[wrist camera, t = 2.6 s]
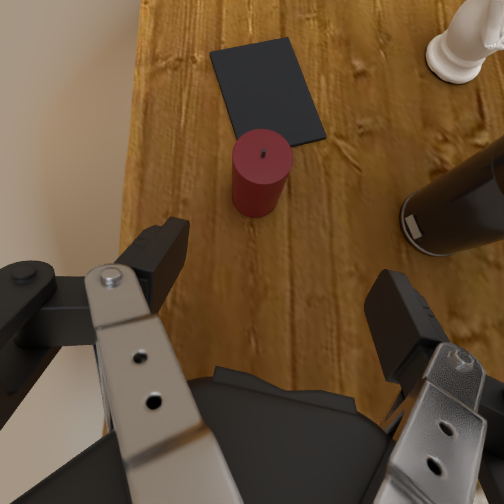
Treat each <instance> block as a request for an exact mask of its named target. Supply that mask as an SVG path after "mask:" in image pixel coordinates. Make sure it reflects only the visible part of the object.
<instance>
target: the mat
mask: <svg viewBox="0 0 504 504" xmlns="http://www.w3.org/2000/svg"><path fill="white" fill-rule="evenodd" d="M210 57H211V60H212V63H213V67H214V70H215V73H216V76H217V79H218V82H219V85H220V88H221V91H222V95H223V98H224V101H225V104H226V107H227V110H228V113H229V116H230V119H231V122H232V126H233V129H234V132H235V135H236V138H237V140H238V139H239V138H240V137H241V136H242V135H244V134H245V133H247V132H249V131H252V130H256V129H267V130H271V131H274V132H276V133H278V134H280V135H281V136H282V137H284V138H285V139H286V141H287V142H288V143H289V145H290V147H294V146H298V145H302V144H306V143H310V142H314V141H319V140H323V139H325V138H326V134H325V131H324V129H323V126H322V123H321V121H320V118H319V116H318V113H317V110H316V108H315V105H314V103H313V100H312V97H311V95H310V92H309V90H308V87H307V84H306V82H305V79H304V77H303V74H302V72H301V69H300V66H299V64H298V61H297V59H296V56H295V53H294V51H293V48H292V46H291V43H290V40H289V38H288V37H285V38H280V39H275V40H270V41H264V42H259V43H254V44H249V45H244V46H238V47H233V48H228V49H223V50H218V51H212V52H210Z"/></svg>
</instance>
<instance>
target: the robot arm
mask: <svg viewBox="0 0 504 504" xmlns="http://www.w3.org/2000/svg"><path fill="white" fill-rule="evenodd" d="M400 225H401V229H402V231H403V234H404V236H405V237H406V239H407V240H408V242H409V243H410V244H411V245H412V246H413V247H414V248H416V249H417V250H418V251H420V252H422V253H424V254H426V255H429V256H434V257H444V256H448V255H452V254H455V253H457V252H460V251H463V250H467V249H471V248H475V247H479V246H482V245H486V244H490V243H493V242H497V241H501V240H504V135H503V136H502V137H500V138H499V139H497V140H495V141H494V142H492V143H491V144H489V145H488V146H486V147H485V148H483V149H482V150H480V151H479V152H477V153H476V154H474V155H473V156H471V157H470V158H468V159H467V160H465V161H464V162H462V163H460V164H459V165H457V166H456V167H454V168H453V169H451V170H450V171H448V172H447V173H445V174H444V175H442V176H441V177H439V178H438V179H436V180H435V181H433V182H431V183H430V184H428V185H427V186H425V187H424V188H422V189H421V190H418V191H416V192H415V193H413V194H412V195H410V196H409V197H408V198H407V199H406V200H405V202H404V204H403V205H402V208H401V212H400ZM189 227H190V222H189V221H188V220H184V219H180V218H175V217H169V219H168V220H167V221H166V222H165V223H164V225H163V226H162V227H161V226H157V225H154V226H151V227H149V228H147V229H145V230H143V231H142V233H141V234H140V235H139V236H138V237H137V238H136V239H135V240H134V241H133V242H132V244H131V245H130V246H129V247H128V248H127V249H126V250H125V251H124V252H123V253H122V254H121V256H120V257H119V258H118V259H117V260H116V261H115V262H114V263H113V264H104V265H100V266H97V267H95V268H93V269H91V270H90V271H89V272H88V273H87V274H86V276H83V277H69V276H68V277H67V276H66V277H65V276H55V273H54V269H53V267H52V266H51V265H49V264H48V263H45V262H41V261H21V262H16V263H13V264H10V265H7V266H5V267H3V268H1V269H0V430H1V429H2V428H3V426H4V425H5V424H6V422H7V421H8V420H9V418H10V417H11V416H12V414H13V413H14V411H15V410H16V409H17V407H18V406H19V405H20V403H21V402H22V401H23V399H24V398H25V396H26V395H27V394H28V392H29V391H30V390H31V388H32V387H33V386H34V384H35V383H36V382H37V380H38V379H39V377H40V376H41V375H42V373H43V372H44V371H45V369H46V368H47V366H48V365H49V364H50V362H51V361H52V360H53V358H54V357H55V356H56V354H57V353H58V352H59V350H60V349H61V347H62V346H76V345H93V351H94V356H95V361H96V367H97V372H98V378H99V383H100V388H101V393H102V400H103V407H104V413H105V419H106V425H107V430H108V434H106V435H105V436H104V437H102V438H101V439H99V440H98V441H97V442H95V443H94V444H92V445H91V446H90V447H88V448H87V449H86V450H84V451H83V452H81V453H80V454H78V455H77V456H76V457H74V458H73V459H71V460H70V461H69V462H67V463H66V464H65V465H63V466H62V467H60V468H59V469H58V470H56V471H55V472H53V473H52V474H51V475H49V476H48V477H46V478H45V479H44V480H42V481H41V482H40V483H38V484H37V485H35V486H34V487H32V488H31V489H30V490H28V491H27V492H25V493H24V494H23V495H21V496H20V497H19V498H17V499H16V500H14V501H13V502H12V503H10V504H473V501H474V495H475V490H476V484H477V479H479V481H480V484H481V486H482V489H483V491H484V493H485V496H486V498H487V501H488V503H489V504H504V383H503V382H500V381H498V380H496V379H494V378H492V377H490V376H488V375H486V374H485V370H484V368H483V366H482V365H481V363H480V362H479V361H478V360H477V359H476V358H475V357H474V356H473V355H472V354H471V353H469V352H468V351H466V350H465V349H463V348H462V347H460V346H458V345H455V344H452V343H450V341H449V339H448V338H447V336H446V334H445V332H444V331H443V329H442V327H441V326H440V324H439V322H438V321H437V319H436V318H434V317H435V316H434V314H433V312H432V310H430V307H429V305H428V304H427V302H426V300H425V299H424V297H423V296H421V295H420V294H419V293H418V292H417V291H416V290H415V289H414V288H413V287H412V286H411V284H410V282H409V280H408V279H407V277H406V275H405V274H403V273H400V272H395V271H391V270H387V269H384V270H382V271H381V273H380V274H379V276H378V278H377V279H376V281H375V283H374V285H373V286H372V288H371V290H370V292H369V293H368V295H367V297H366V299H365V303H364V312H365V315H366V319H367V322H368V325H369V328H370V332H371V335H372V338H373V341H374V345H375V348H376V351H377V354H378V357H379V361H380V364H381V367H382V370H383V374H384V377H385V380H386V381H388V382H392V383H396V384H400V385H401V389H400V391H399V392H398V393H397V394H396V396H395V398H394V400H393V401H392V403H391V405H390V407H389V409H388V410H387V412H386V414H385V416H384V418H383V419H382V421H381V423H380V425H379V426H378V425H377V424H376V423H374V422H373V421H372V420H370V419H369V418H367V417H366V416H364V415H363V414H361V413H359V412H357V410H356V405H355V400H354V398H352V397H348V396H343V395H339V394H335V393H331V392H326V391H322V390H303V391H286V390H282V389H280V388H278V387H276V386H274V385H272V384H270V383H268V382H266V381H264V380H262V379H260V378H258V377H256V376H254V375H252V374H249V373H245V372H241V371H236V370H232V369H228V368H223V367H219V366H215V370H214V374H213V377H201V378H196V379H192V380H188V381H186V379H185V376H184V374H183V372H182V369H181V367H180V364H179V362H178V360H177V357H176V355H175V352H174V350H173V348H172V345H171V343H170V340H169V338H168V336H167V333H166V331H165V329H164V326H163V324H162V321H161V319H160V317H159V315H158V312H159V310H160V308H161V306H162V304H163V303H164V301H165V299H166V297H167V295H168V293H169V292H170V290H171V288H172V286H173V284H174V282H175V280H176V279H177V277H178V275H179V273H180V271H181V269H182V268H183V265H184V262H185V259H186V254H187V245H188V236H189Z"/></svg>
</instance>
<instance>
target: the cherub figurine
mask: <svg viewBox="0 0 504 504" xmlns="http://www.w3.org/2000/svg"><path fill="white" fill-rule="evenodd" d="M497 50H504V0H466V1H465V2H464V3H463V4H462V5H461V7H460V8H459V9H458V10H457V12H456V13H455V15H454V17H453V19H452V21H451V23H450V25H449V28H448V29H447V30H446V31H444V33H443V34H440V35H438V36H436V37H435V38H434V39H432V40H431V42H430V43H429V45H428V46H427V51H426V60H427V63H428V65H429V68H430V69H431V70H432V71H434V72H435V73H436V74H437V75H438V77H440V78H441V79H442V80H445V81H447V82H451V83H455V84H462V83H466V82H468V81H470V80H472V79H474V78H475V77H476V76H477V74H478V73H479V71H480V69H481V66H482V63H483V62H484V61H485V59H486V57H487V56H489V55H491V54H493V53H494V52H496V51H497Z"/></svg>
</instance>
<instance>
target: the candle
mask: <svg viewBox="0 0 504 504" xmlns="http://www.w3.org/2000/svg"><path fill="white" fill-rule="evenodd" d="M292 164H293V153H292V149H291V147H290V145H289V143H288V142H287V141H286V139H285V138H284V137H282V136H281V135H280V134H278V133H276V132H274V131H271V130H267V129H256V130H252V131H249V132H247V133H245V134H244V135H242V136H241V137H240V138H239V139H238V140H237V142H236V143H235V145H234V148H233V153H232V199H233V203H234V205H235V207H236V208H237V209H238V210H239V211H240V212H241V213H242V214H244V215H246V216H249V217H254V218H257V217H263V216H265V215H267V214H269V213H270V212H271V211H272V210H273V209H274V208H275V206H276V204H277V201H278V199H279V196H280V194H281V192H282V189H283V187H284V184H285V182H286V179H287V177H288V174H289V172H290V169H291V167H292Z"/></svg>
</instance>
